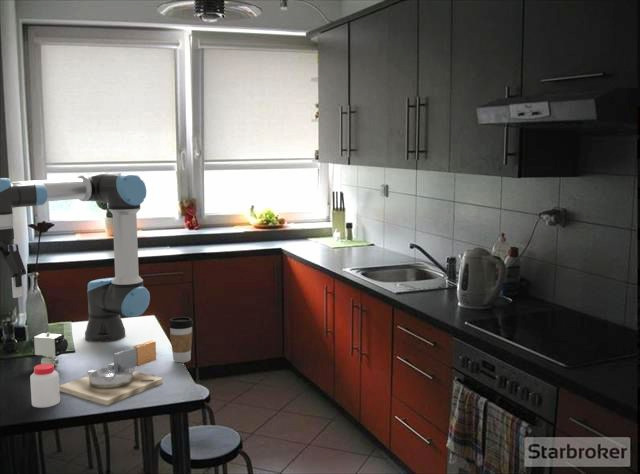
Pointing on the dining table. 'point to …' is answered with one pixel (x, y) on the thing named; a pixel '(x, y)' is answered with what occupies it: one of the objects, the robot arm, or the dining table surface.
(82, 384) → the light wood square board
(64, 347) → the pneumatic valve
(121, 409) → the dining table surface
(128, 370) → the silver saucepan
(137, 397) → the dining table surface
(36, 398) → the pill bottle
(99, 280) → the robot arm
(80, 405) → the dining table surface
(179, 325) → the coffee cup
